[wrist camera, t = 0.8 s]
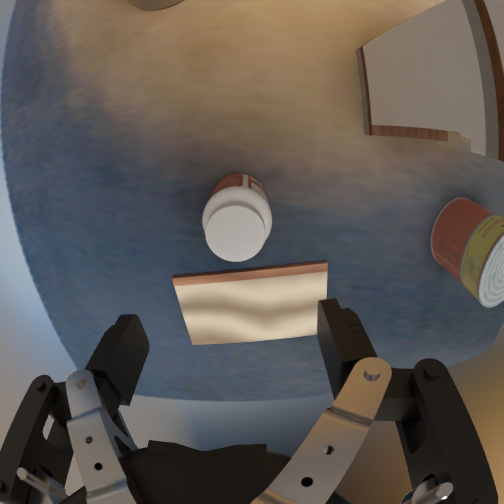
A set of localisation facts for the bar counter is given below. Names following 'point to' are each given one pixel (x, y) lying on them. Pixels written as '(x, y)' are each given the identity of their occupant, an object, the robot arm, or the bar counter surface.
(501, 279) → the canned food
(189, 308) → the board
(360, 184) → the bar counter surface
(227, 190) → the pill bottle
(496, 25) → the white square tower
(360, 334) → the robot arm
